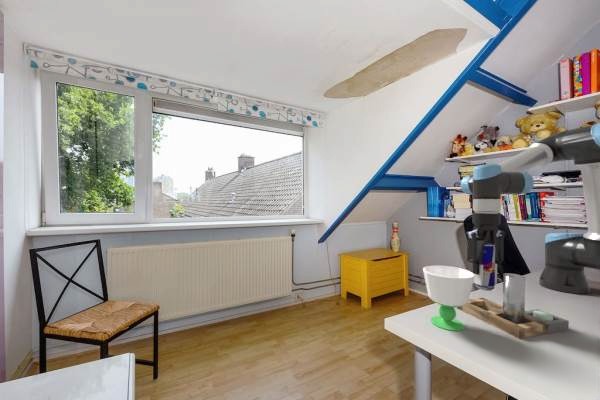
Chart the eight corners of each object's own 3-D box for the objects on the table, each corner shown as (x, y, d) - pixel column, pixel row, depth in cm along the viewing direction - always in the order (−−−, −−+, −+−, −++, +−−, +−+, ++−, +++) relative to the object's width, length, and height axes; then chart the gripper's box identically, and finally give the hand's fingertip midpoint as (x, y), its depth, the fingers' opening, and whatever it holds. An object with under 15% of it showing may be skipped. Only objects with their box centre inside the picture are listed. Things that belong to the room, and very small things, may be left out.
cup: (442, 337, 72) (442, 279, 72) (413, 314, 86) (413, 266, 85) (486, 333, 74) (487, 277, 74) (451, 312, 88) (451, 264, 88)
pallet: (482, 304, 94) (482, 297, 94) (548, 333, 74) (548, 324, 74) (457, 308, 91) (457, 300, 91) (519, 338, 71) (519, 329, 71)
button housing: (537, 317, 84) (537, 309, 84) (568, 329, 76) (568, 320, 76) (518, 320, 82) (518, 312, 82) (548, 333, 74) (548, 324, 74)
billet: (511, 321, 81) (511, 272, 81) (528, 329, 76) (529, 277, 76) (498, 323, 80) (499, 274, 80) (515, 331, 75) (516, 279, 75)
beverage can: (479, 290, 85) (480, 244, 85) (472, 285, 90) (473, 241, 90) (497, 292, 84) (498, 244, 84) (489, 286, 89) (490, 242, 88)
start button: (539, 317, 82) (539, 310, 82) (556, 324, 78) (556, 316, 78) (529, 319, 81) (529, 311, 81) (545, 326, 76) (545, 318, 76)
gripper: (496, 211, 92) (495, 277, 93) (454, 212, 88) (453, 281, 88) (519, 212, 85) (517, 284, 85) (474, 213, 80) (473, 289, 81)
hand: (485, 283), depth 87 cm, fingers closed on beverage can, 5 cm apart
